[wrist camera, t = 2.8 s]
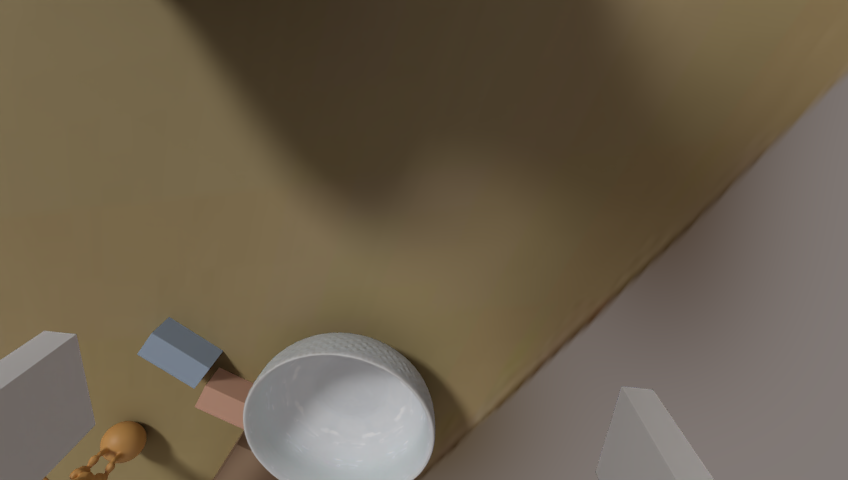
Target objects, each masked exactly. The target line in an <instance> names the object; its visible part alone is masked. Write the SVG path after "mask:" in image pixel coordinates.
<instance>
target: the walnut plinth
mask: <svg viewBox="0 0 848 480" xmlns="http://www.w3.org/2000/svg"><path fill="white" fill-rule="evenodd" d="M213 480H279V479H277V478H276V477H275V476H273V475H272V474H271V473H270V472H269V471H268V470H267V469H266V468H265V467H264V466H263V465H262V464H261V463H260V462H259V461H258V459H257V458H256V457H255V455H254V454H253V452H252V450H251V448H250V446H249V444H248V442H247V439H246V436H245V432H244V431H243V433H242V434H241V436H240V437H239V439H238V440H237V442H236V444H235V445H234V447H233V448H232V450H231V452H230V453H229V455H228V456H227V458H226V460H225V461H224V463H223V464H222V466H221V468H220V469H219V471H218V472H217V474H216V475H215V477H214V479H213Z"/></svg>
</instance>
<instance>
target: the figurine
mask: <svg viewBox="0 0 848 480" xmlns="http://www.w3.org/2000/svg"><path fill="white" fill-rule="evenodd" d="M145 443H146V432H145V430H144V428H143V427H142V426H141V425H140V424H138V423H136V422H133V421H124V422H120V423H117V424H115V425H114V426H112V427H111V428H110V429H108V430H107V432H106V433H105V434H104V436H103V437H102V440H101V443H100V450H101V451H100V452H99V453H98V454H97V455H94V456H93V457H91V458H90V460H89V462H88V465H87V466H82V467H80V468H77V469H75V470H74V471H73V472H72V473H71V474H70V479H71V480H107V479H108V475H109V473H110V472H111V471H112V470H113V469H114V467H115V463H124V462H127V461H130V460H132V459H133V458H135V457H136V456H137V455H138V454H139V453H140V452H141V451H142V450H143V448H144V446H145ZM100 456H103V457H104V458H105V459H106V460H108V461H109V463H108V464H107V466H106V469H105V473H104V474H101V473H98V474H96V475H93V473H91V472H90V468H91V467H92V466H93V465H95V464H96V463H97V462H98V460H99V457H100ZM42 480H49V479H48V478H47V477H44V478H43V479H42Z"/></svg>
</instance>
